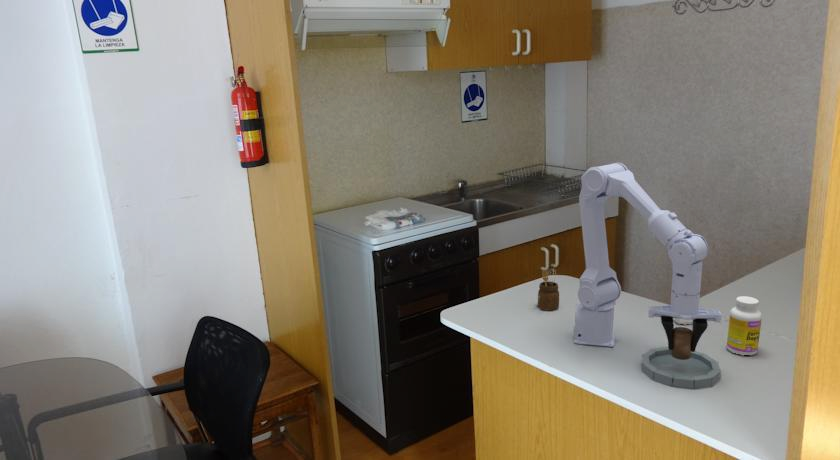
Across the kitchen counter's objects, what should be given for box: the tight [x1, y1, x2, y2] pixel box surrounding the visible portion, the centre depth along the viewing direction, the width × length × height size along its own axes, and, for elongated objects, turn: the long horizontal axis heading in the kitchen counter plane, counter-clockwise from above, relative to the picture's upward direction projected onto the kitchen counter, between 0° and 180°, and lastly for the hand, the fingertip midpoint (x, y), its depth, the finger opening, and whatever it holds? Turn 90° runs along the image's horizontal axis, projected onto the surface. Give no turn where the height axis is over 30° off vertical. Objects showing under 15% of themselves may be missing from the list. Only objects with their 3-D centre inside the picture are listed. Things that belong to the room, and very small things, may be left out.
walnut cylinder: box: [671, 326, 693, 360], centre depth 141 cm, size 4×4×6 cm
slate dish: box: [640, 346, 722, 390], centre depth 143 cm, size 16×16×2 cm
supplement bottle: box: [726, 295, 763, 356], centre depth 150 cm, size 7×7×13 cm
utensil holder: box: [537, 269, 560, 312], centre depth 180 cm, size 6×6×12 cm
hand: (681, 349), depth 141 cm, fingers closed on walnut cylinder, 4 cm apart
